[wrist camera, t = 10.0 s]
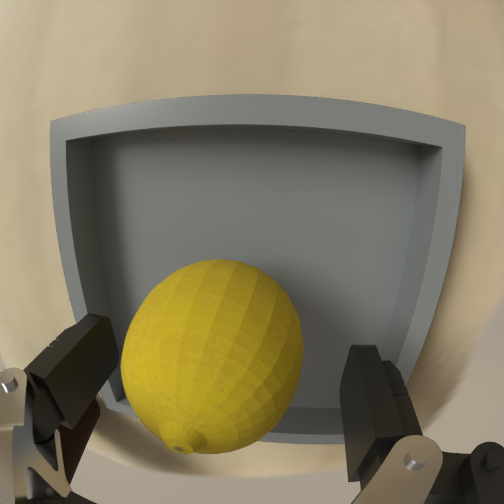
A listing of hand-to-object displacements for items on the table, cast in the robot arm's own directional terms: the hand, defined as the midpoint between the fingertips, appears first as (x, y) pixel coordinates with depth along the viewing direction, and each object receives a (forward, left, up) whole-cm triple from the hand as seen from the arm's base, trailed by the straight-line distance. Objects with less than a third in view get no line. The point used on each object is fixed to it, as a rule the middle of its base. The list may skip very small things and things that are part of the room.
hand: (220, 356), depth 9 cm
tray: (0, 0, -5) cm, 5 cm away
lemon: (0, 0, -4) cm, 4 cm away
